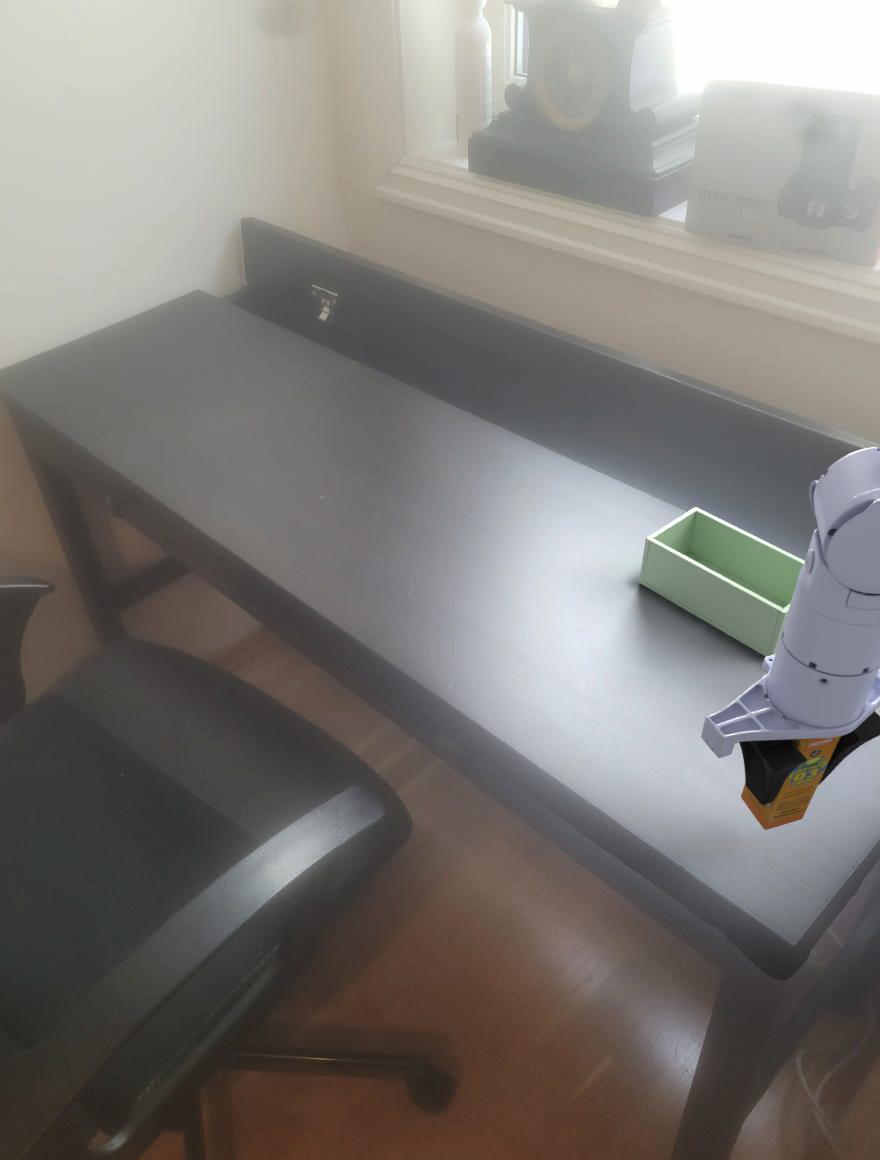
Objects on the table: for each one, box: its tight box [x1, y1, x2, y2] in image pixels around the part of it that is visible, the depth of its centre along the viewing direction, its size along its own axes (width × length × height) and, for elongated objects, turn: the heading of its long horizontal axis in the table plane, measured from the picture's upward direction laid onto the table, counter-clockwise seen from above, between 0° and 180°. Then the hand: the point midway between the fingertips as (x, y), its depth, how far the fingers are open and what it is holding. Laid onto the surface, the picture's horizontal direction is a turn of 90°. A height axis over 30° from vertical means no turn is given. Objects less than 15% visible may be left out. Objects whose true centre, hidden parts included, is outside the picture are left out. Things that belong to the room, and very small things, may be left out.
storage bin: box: [638, 506, 805, 658], centre depth 84 cm, size 15×8×6 cm, turn 39°
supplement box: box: [740, 736, 841, 831], centre depth 61 cm, size 3×3×10 cm
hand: (782, 784), depth 62 cm, fingers closed on supplement box, 3 cm apart
